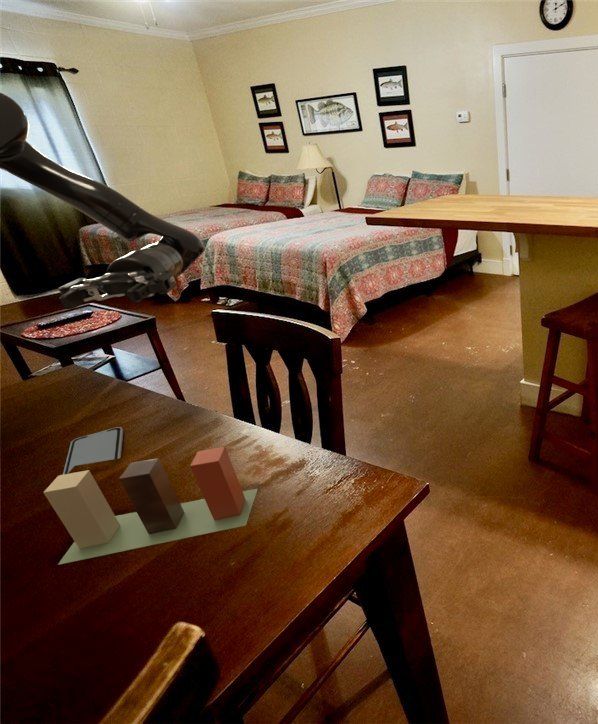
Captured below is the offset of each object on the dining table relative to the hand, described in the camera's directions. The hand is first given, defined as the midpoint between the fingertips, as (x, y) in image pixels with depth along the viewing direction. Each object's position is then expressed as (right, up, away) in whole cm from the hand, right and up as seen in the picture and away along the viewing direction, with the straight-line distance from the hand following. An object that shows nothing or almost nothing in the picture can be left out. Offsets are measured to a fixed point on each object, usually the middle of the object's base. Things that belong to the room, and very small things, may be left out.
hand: (99, 300), depth 73 cm
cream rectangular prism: (+7, -34, -8) cm, 36 cm away
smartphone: (-10, -27, +10) cm, 30 cm away
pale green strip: (+15, -34, -5) cm, 37 cm away
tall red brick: (+22, -32, -3) cm, 39 cm away
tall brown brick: (+15, -33, -5) cm, 36 cm away
